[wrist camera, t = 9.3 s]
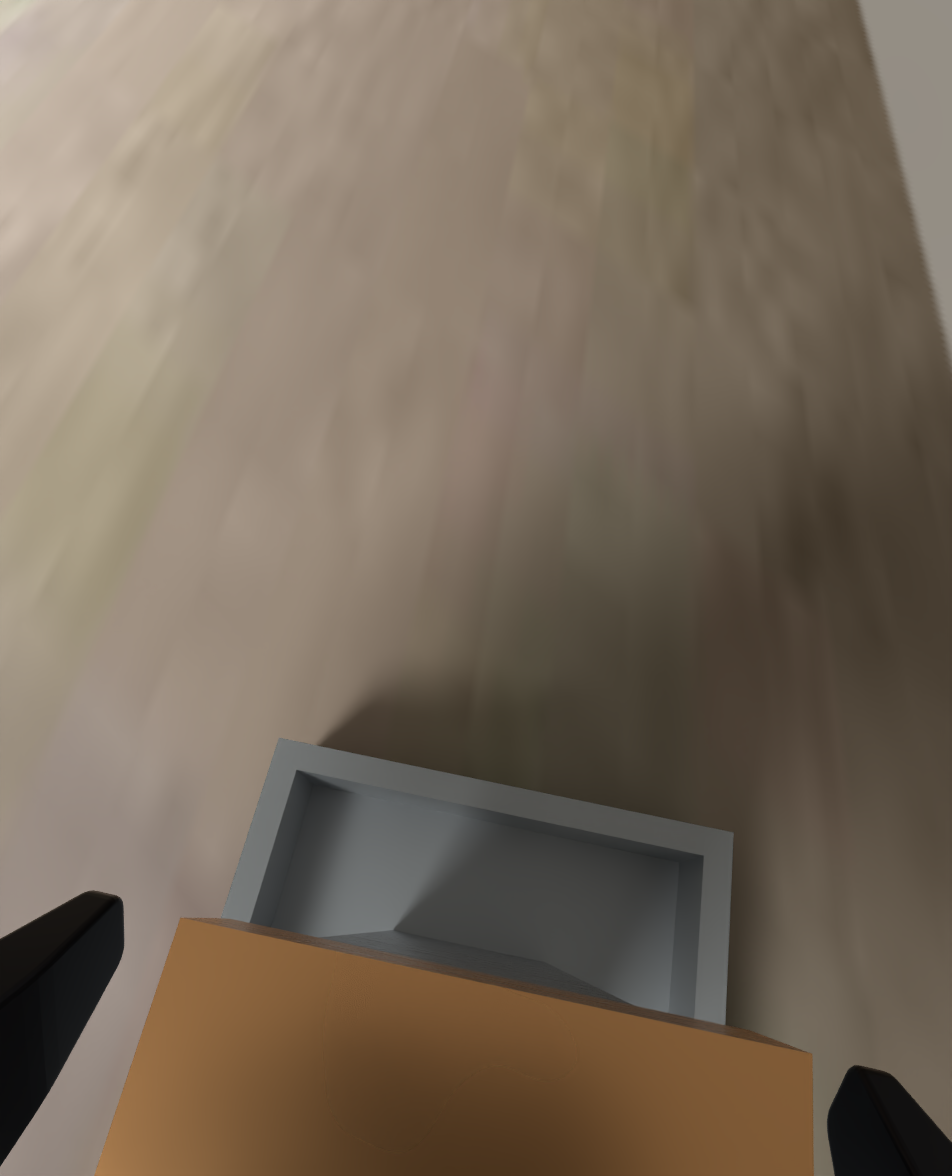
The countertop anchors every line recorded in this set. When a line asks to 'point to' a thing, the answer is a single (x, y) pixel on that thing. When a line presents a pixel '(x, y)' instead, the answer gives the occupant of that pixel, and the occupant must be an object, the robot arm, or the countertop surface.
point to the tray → (491, 874)
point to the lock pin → (436, 1069)
